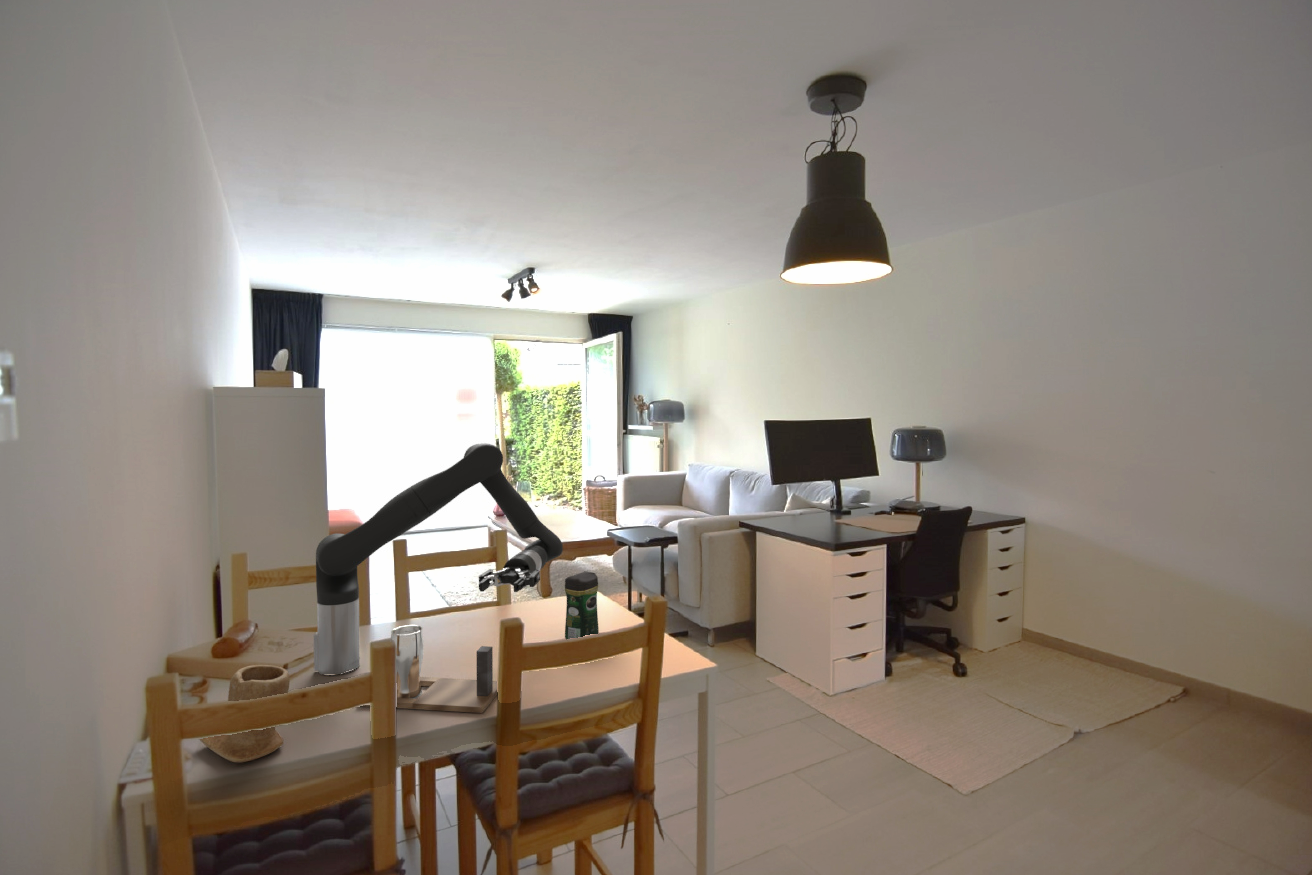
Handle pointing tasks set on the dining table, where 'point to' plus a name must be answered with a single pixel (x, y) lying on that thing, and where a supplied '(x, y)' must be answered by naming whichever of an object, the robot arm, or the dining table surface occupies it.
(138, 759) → the dining table surface
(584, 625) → the coffee jar
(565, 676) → the dining table surface
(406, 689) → the beer glass
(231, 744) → the stone cup
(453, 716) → the dining table surface
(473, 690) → the board with upright block
